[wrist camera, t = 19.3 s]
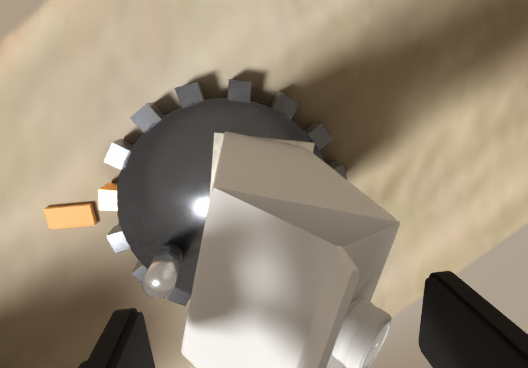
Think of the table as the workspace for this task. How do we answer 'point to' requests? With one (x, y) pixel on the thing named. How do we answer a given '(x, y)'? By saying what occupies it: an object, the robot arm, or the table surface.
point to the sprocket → (187, 177)
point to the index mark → (70, 216)
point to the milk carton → (286, 264)
